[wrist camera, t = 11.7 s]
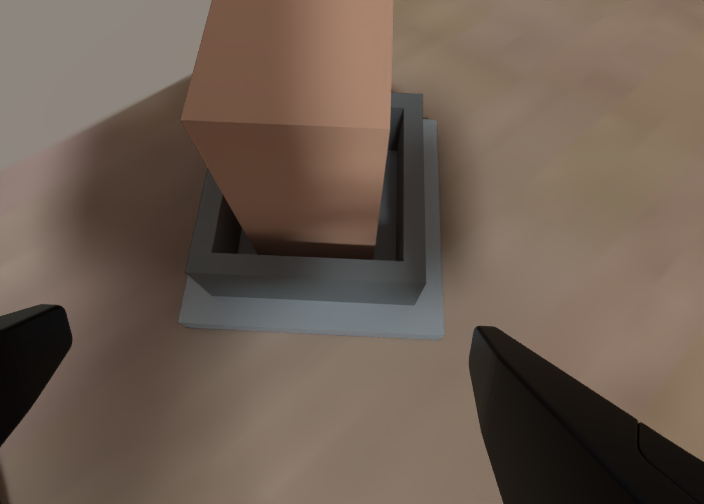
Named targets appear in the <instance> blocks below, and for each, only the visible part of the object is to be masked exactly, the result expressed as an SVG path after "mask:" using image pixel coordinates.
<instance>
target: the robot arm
mask: <svg viewBox="0 0 704 504" xmlns="http://www.w3.org/2000/svg"><path fill="white" fill-rule="evenodd" d="M71 345H72V333H71V330H70V326H69V322H68V318H67V314H66V311H65V309H64V308H63V307H62V306H60V305H49V304H41V305H37V306H33V307H30V308H26V309H23V310H20V311H16V312H13V313H10V314H6V315H3V316H0V447H1V446H2V444H3V443H4V442H5V440H6V439H7V438H8V437H9V435H10V434H11V433H12V432H13V430H14V429H15V428H16V427H17V425H18V424H19V423H20V422H21V420H22V419H23V418H24V416H25V415H26V414H27V413H28V411H29V410H30V409H31V407H32V406H33V404H34V403H35V401H36V400H37V398H38V397H39V395H40V394H41V392H42V391H43V389H44V388H45V386H46V385H47V383H48V382H49V380H50V379H51V377H52V376H53V374H54V372H55V371H56V369H57V368H58V366H59V365H60V363H61V362H62V360H63V359H64V357H65V356H66V354H67V353H68V351H69V350H70V348H71ZM469 370H470V376H471V381H472V386H473V392H474V397H475V402H476V407H477V413H478V418H479V423H480V428H481V433H482V436H483V440H484V443H485V446H486V450H487V453H488V456H489V459H490V462H491V465H492V469H493V472H494V475H495V478H496V481H497V485H498V488H499V491H500V494H501V497H502V500H503V504H704V462H703V461H702V460H700V459H698V458H696V457H695V456H693V455H692V454H690V453H689V452H687V451H685V450H684V449H682V448H681V447H679V446H677V445H676V444H674V443H673V442H671V441H670V440H668V439H666V438H665V437H663V436H662V435H660V434H659V433H657V432H656V431H654V430H653V429H651V428H650V427H648V426H647V425H645V424H644V423H641V422H640V423H638V420H637V419H636V418H634V417H633V416H631V415H630V414H628V413H626V412H625V411H623V410H622V409H620V408H619V407H617V406H616V405H614V404H613V403H611V402H610V401H608V400H607V399H605V398H604V397H602V396H600V395H599V394H597V393H596V392H594V391H593V390H591V389H590V388H588V387H587V386H585V385H584V384H582V383H581V382H579V381H577V380H576V379H574V378H573V377H571V376H570V375H568V374H567V373H565V372H564V371H562V370H561V369H559V368H558V367H556V366H555V365H553V364H551V363H550V362H548V361H547V360H545V359H544V358H542V357H541V356H539V355H538V354H536V353H535V352H533V351H532V350H530V349H529V348H527V347H525V346H524V345H522V344H521V343H519V342H518V341H516V340H515V339H513V338H512V337H510V336H509V335H507V334H506V333H504V332H503V331H501V330H499V329H498V328H496V327H493V326H477V327H476V328H475V329H474V332H473V338H472V344H471V349H470V355H469Z"/></svg>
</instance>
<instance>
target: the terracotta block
mask: <svg viewBox="0 0 704 504" xmlns="http://www.w3.org/2000/svg"><path fill="white" fill-rule="evenodd" d="M392 33H393V0H212V2H211V6H210V10H209V14H208V17H207V21H206V25H205V29H204V33H203V36H202V40H201V44H200V48H199V51H198V55H197V59H196V63H195V66H194V70H193V74H192V78H191V81H190V85H189V89H188V93H187V97H186V100H185V104H184V108H183V112H182V115H181V119H180V120H181V122H182V124H183V126H184V127H185V129H186V131H187V133H188V134H189V136H190V138H191V140H192V141H193V143H194V145H195V147H196V148H197V150H198V152H199V154H200V155H201V157H202V159H203V161H204V162H205V164H206V166H207V167H208V169H209V171H210V173H211V174H212V176H213V178H214V180H215V181H216V183H217V185H218V187H219V188H220V190H221V192H222V194H223V195H224V197H225V199H226V201H227V202H228V204H229V206H230V208H231V209H232V211H233V213H234V215H235V216H236V218H237V220H238V222H239V223H240V225H241V227H242V228H243V230H244V232H245V234H246V235H247V237H248V239H249V241H250V242H251V244H252V246H253V248H254V249H255V251H256V253H257V255H273V256H295V257H317V258H339V259H361V260H373V259H374V251H375V243H376V236H377V228H378V220H379V212H380V204H381V196H382V189H383V181H384V173H385V165H386V157H387V150H388V142H389V134H390V114H391V73H392Z"/></svg>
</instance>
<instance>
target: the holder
mask: <svg viewBox="0 0 704 504" xmlns="http://www.w3.org/2000/svg"><path fill="white" fill-rule="evenodd" d="M185 273H186V274H187V275H188V277H187V281H186V286H185V291H184V296H183V300H182V305H181V310H180V314H179V319H178V323H180V324H181V325H183V326H185V327H187V328H206V329H226V330H247V331H267V332H287V333H308V334H328V335H348V336H369V337H389V338H410V339H430V340H440V339H441V338H442V337H443V336H444V317H443V288H442V260H441V232H440V203H439V175H438V147H437V120H434V119H423V94H413V93H391V114H390V134H389V142H388V150H387V157H386V165H385V173H384V181H383V189H382V196H381V204H380V212H379V220H378V228H377V236H376V243H375V251H374V259H373V260H361V259H339V258H317V257H295V256H273V255H257V253H256V251H255V249H254V248H253V246H252V244H251V242H250V241H249V239H248V237H247V235H246V234H245V232H244V230H243V228H242V227H241V225H240V223H239V222H238V220H237V218H236V216H235V215H234V213H233V211H232V209H231V208H230V206H229V204H228V202H227V201H226V199H225V197H224V195H223V194H222V192H221V190H220V188H219V187H218V185H217V183H216V181H215V180H214V178H213V176H212V174H211V173H210V171H209V169H208V168H207V173H206V177H205V182H204V187H203V191H202V196H201V201H200V205H199V210H198V215H197V219H196V224H195V229H194V233H193V238H192V242H191V247H190V252H189V256H188V261H187V266H186V270H185Z"/></svg>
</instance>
